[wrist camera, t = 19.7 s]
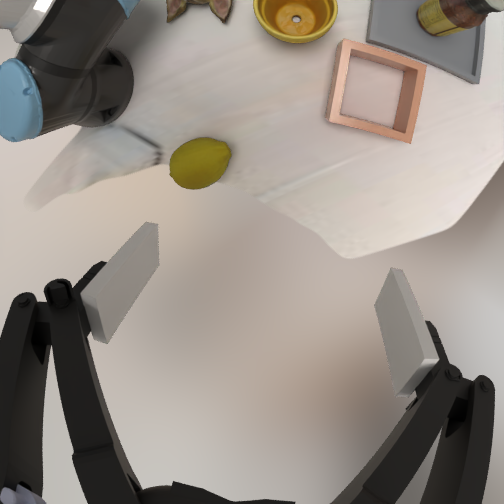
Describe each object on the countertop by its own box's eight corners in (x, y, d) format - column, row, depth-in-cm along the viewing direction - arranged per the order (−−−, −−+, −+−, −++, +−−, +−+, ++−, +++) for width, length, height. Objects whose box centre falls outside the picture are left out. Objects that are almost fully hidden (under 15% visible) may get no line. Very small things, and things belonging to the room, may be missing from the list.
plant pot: (294, -18, 32) (293, -41, 23) (343, 23, 34) (355, 8, 26) (247, 21, 36) (235, 5, 28) (296, 62, 39) (296, 55, 31)
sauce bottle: (449, 13, 28) (518, -8, 11) (445, 43, 31) (518, 33, 14) (414, -3, 28) (473, -39, 11) (410, 27, 32) (473, 2, 15)
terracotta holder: (324, 117, 43) (329, 121, 38) (337, 44, 36) (343, 38, 31) (398, 137, 42) (410, 143, 37) (412, 67, 36) (426, 65, 31)
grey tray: (365, 41, 35) (369, 39, 33) (374, -37, 27) (378, -42, 25) (471, 83, 34) (479, 84, 32) (478, 8, 26) (485, 6, 24)
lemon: (185, 186, 52) (167, 202, 45) (171, 144, 48) (151, 155, 41) (243, 171, 49) (234, 186, 42) (231, 127, 46) (219, 134, 39)
